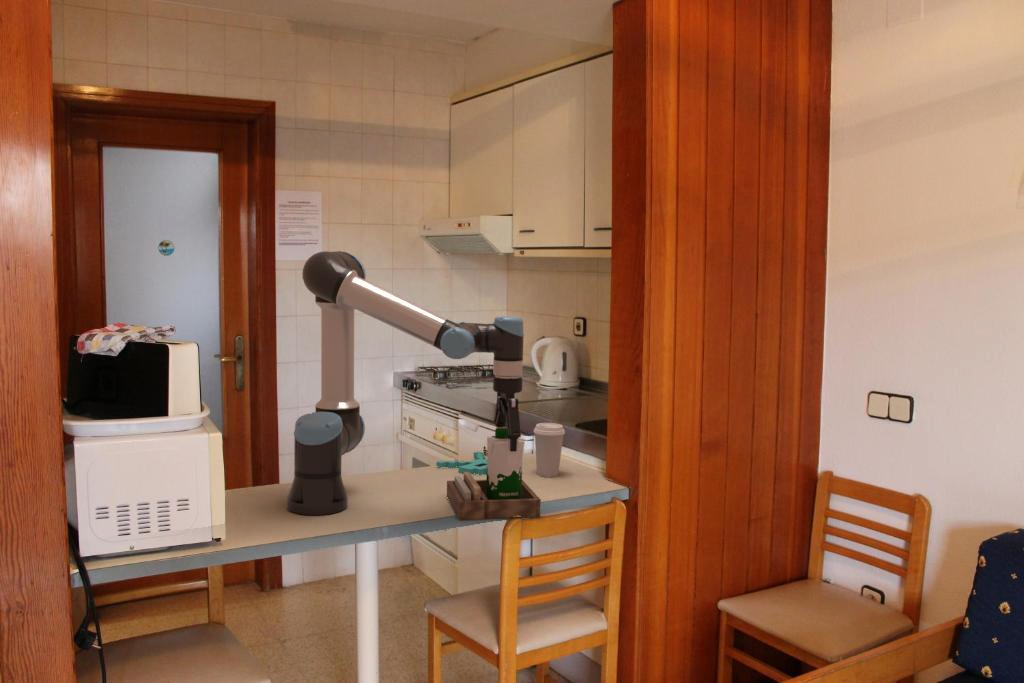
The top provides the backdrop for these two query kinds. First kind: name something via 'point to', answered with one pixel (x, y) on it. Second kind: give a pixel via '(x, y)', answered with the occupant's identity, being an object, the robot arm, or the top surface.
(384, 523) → the top surface
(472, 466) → the alien figure
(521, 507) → the offcut rack
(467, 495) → the grey offcut
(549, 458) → the coffee cup
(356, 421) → the robot arm
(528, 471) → the top surface
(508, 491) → the soya milk
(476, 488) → the birch offcut
